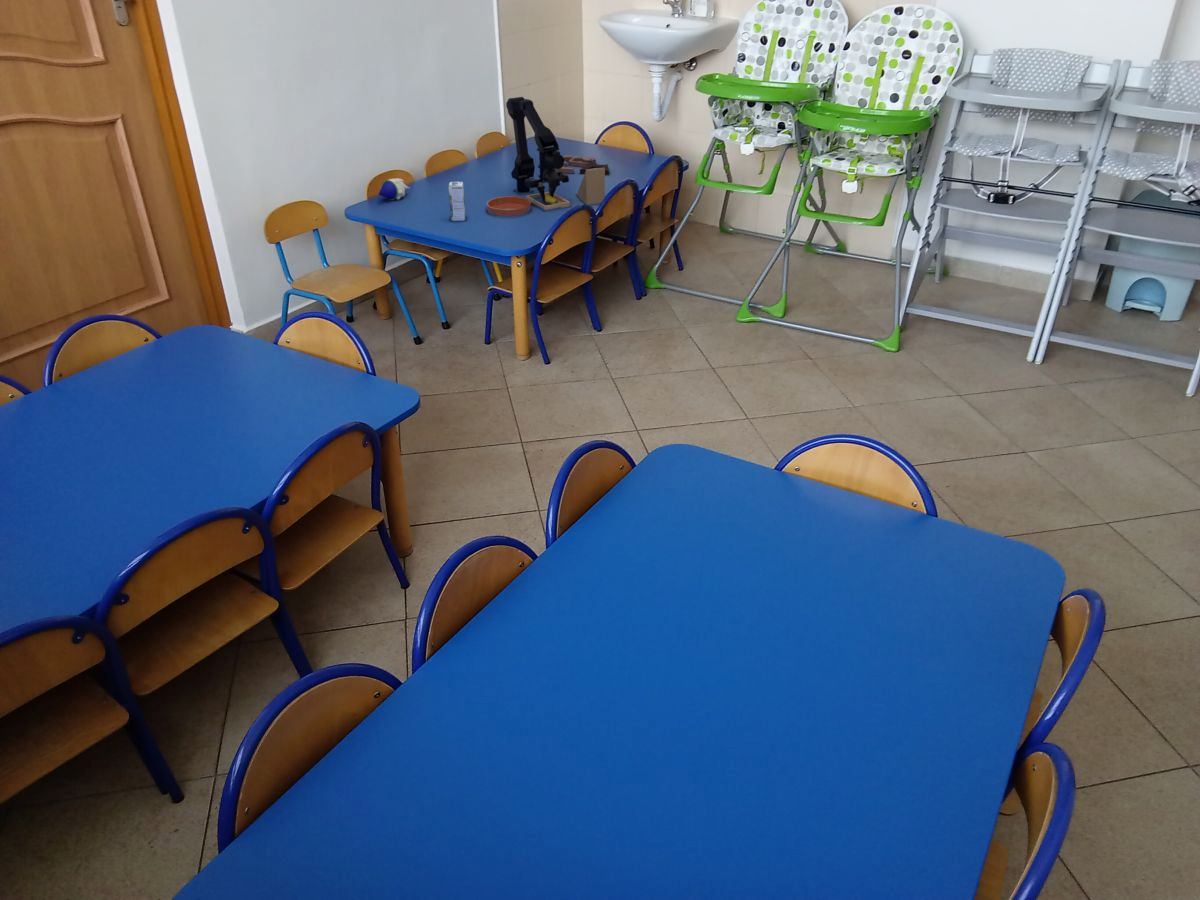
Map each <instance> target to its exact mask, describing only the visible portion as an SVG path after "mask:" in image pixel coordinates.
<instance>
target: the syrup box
mask: <svg viewBox="0 0 1200 900" xmlns="http://www.w3.org/2000/svg"><path fill="white" fill-rule="evenodd" d="M448 197H449V209H450V211H449V212H450V221H451V222H458V221H459V222H460V221H461V222H463V221H466V199H465V188H464V181H450V182H449V183H448Z"/></svg>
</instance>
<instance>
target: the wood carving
mask: <svg viewBox="0 0 1200 900" xmlns="http://www.w3.org/2000/svg"><path fill="white" fill-rule="evenodd" d="M562 156H563V158H564V160H565V162H564V165H563V167H562V168H560V169H556V168H555V172H563V173H564V174H575V169H574V168H573V167H578V168H580V169H579V175H585V172H586V170H587V169H594V168H605V176H609V173H610V171H609V164H608V163H606V164H597V160H596V159H595V157H591V156H586V157H585V156H583V157H582V156H577V155H568V154H567V155H562ZM567 162H568V166H571V167H568V166H567Z"/></svg>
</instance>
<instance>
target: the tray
mask: <svg viewBox="0 0 1200 900" xmlns="http://www.w3.org/2000/svg"><path fill="white" fill-rule="evenodd" d="M544 192H545V191H544ZM545 194H548V195H549V191H546V192H545ZM525 198H526V199H528V200H530V202H531V204H534V205H535V206H538V208H541V209H542V210H544V211H546V210H552V209H557V208H570V207H571V202H570V201H569V200H567V199H565V198H564V197H561V196H560V195H558V194H556V193H554V196H553V198H555V199H556V200H557V201H558V202H557V203H556V204H548V205H545V204H543V203H542V202H540V201H538V200H536V199H537V198H541V195H540V193H539V192H538V193H533V194H529V195H525Z"/></svg>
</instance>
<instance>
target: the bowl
mask: <svg viewBox="0 0 1200 900" xmlns="http://www.w3.org/2000/svg"><path fill="white" fill-rule="evenodd" d="M531 210H532V202H530V200H528V199H526V197H522V196H509V195H508V196H500V197H495V198H491V199H489V200H488V201H487V202H486V211H487V213H489V214H490V215H494V216H499V217H514V216H515V217H516V216H521V215H525V214H527V213H529V212H530V211H531Z"/></svg>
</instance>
